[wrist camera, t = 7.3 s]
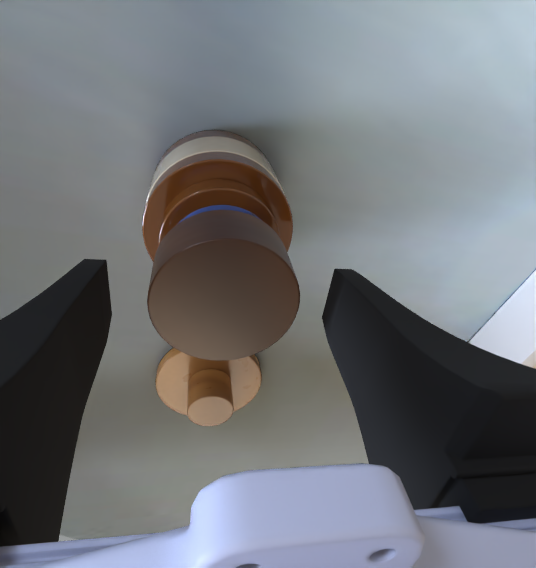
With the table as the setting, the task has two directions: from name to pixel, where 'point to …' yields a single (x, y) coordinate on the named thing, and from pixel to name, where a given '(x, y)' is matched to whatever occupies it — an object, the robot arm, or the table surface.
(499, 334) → the framed art
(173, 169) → the bottle
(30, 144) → the table surface
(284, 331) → the brown short cylinder
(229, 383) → the wooden peg base
